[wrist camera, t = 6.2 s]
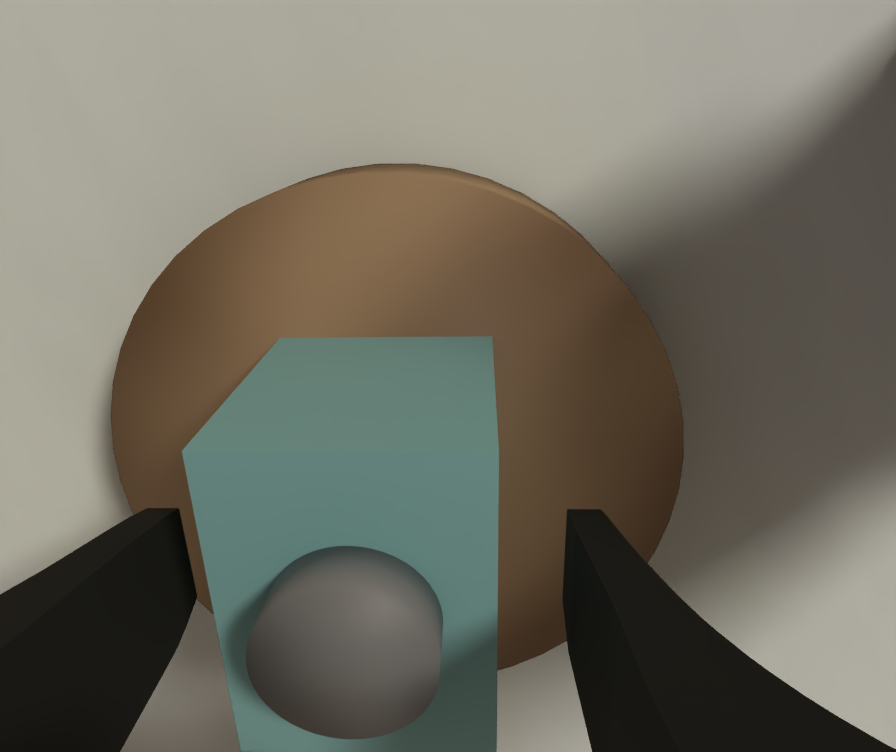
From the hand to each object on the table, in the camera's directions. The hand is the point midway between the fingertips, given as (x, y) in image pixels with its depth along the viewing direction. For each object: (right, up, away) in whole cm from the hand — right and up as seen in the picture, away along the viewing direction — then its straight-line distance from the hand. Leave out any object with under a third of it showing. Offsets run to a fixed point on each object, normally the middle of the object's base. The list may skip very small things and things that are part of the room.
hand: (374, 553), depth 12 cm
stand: (0, +2, +5) cm, 6 cm away
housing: (0, +1, +3) cm, 3 cm away
